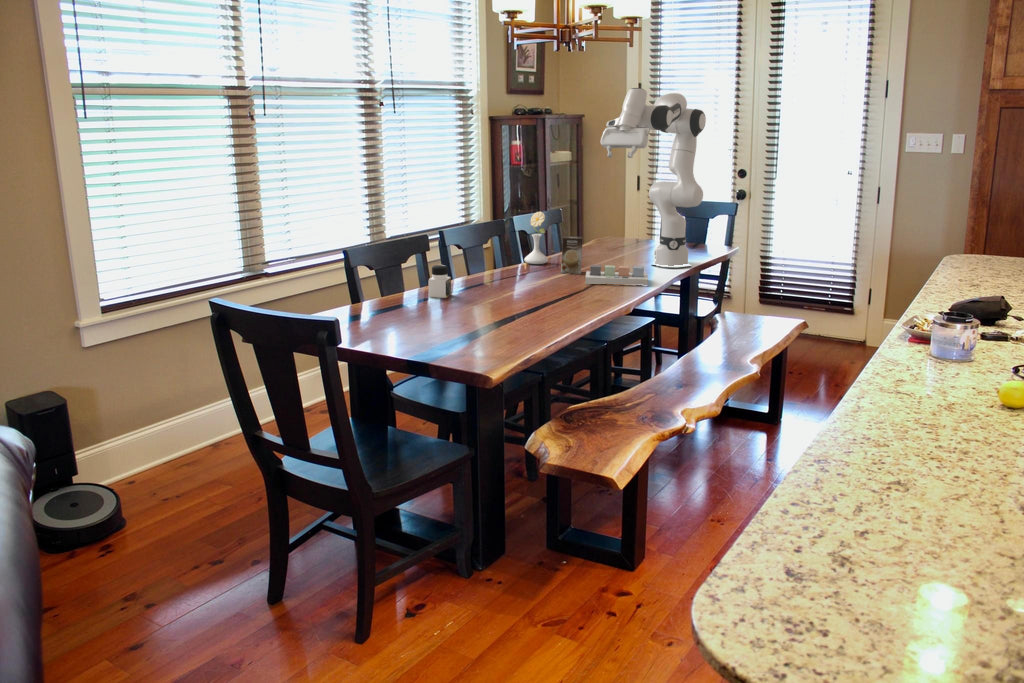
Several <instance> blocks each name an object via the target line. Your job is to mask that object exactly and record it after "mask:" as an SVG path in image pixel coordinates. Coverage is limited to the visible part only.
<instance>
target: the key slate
mask: <svg viewBox="0 0 1024 683" xmlns="http://www.w3.org/2000/svg"><path fill="white" fill-rule="evenodd" d="M644 271H645V268H644V266H640V265H639V266H635V265H633V266H632V273H633V277H643V275H644V273H645V272H644Z"/></svg>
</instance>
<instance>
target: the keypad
mask: <svg viewBox="0 0 1024 683" xmlns="http://www.w3.org/2000/svg"><path fill="white" fill-rule="evenodd" d="M604 272H605V271H601V276H593V275H590V270H586V272H585V280H584V281H585V283H584V284H585V285H590V284H606V283H607V284H643V285H648V286H649V278H648V273H647V272H644V275H643V277H633V272H629V277H628V276H618V274H619V271H615V276H604Z"/></svg>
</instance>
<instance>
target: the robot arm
mask: <svg viewBox="0 0 1024 683" xmlns="http://www.w3.org/2000/svg"><path fill="white" fill-rule="evenodd" d="M647 95H648V92H647V90H646V89H644V88H640V87H631V88H629V89H628V91H627V93H626V95H625V97H624V100H623V104H622V106H621V109H622V110H621V113H620V115H619V117H617V118H615V119H611V120H608V121H607V122H606V127H605V129H604V130H603V132H602V135H601V137H600V145H601V147H603V148H604V149H606V151H607V155H606V157H608V158H609V159H610V158H613V156H614V153H613V152H612V151H613V149H631V150H630V151H629V152H627V158H629V159H633V157H634V155H635V153H636V152H637V151H638V149H646V147H647V145H648V141H649V135H650V131H654V130H655V131H660V132H662V133H666V134H668V133H669V134H675V136H674V139H673V143H672V146H671V150H670V151H671V152H670V156H669V162H668V168H669V171H670V172H671V173H672V174H673V175H675V176H676V177H677V180H676V181H675V182H674V181H659V182H654V183H653V184H652V185H651V186H650V187H649V189H648V190H649V191H648V197H649V200H650V202H651V203H653V204H652V205H654V206H655V207H656V208H657V210H658V213H659V214H660V219H661V222H660V223H661V224H660V225H661V226H660V227H661V229H660V230H661V232H660V233H661V234H660V236H659V245H658V246H657V247H656V249H655V250H654V260H655V259H656V261H655V264H659V265H668V266H674V265H683V264H688V263H689V248H688V247H687V246H686V242H687V237H686V227H687V221H686V218H685V217H684V216H683V215H682V214H680V213H679V212H678V211H677V208H676V207H678V208H679V207H680V208H693V207H699V205H700V204H701V203H702V202H703V199H704V191H703V189H702V187H701V186H700V185H699V183H698V182H697V181H696V178H695V175H694V167H695V166H694V165H695V157H696V154H697V153H696V151H697V142H698V141H697V140H698V138H697V137H698V136H699V135H700V134H701V132H703V130H704V129H705V127H706V121H707V118H706V114H705V112H704V111H703V110H701V109H699V108H698V109H697V108H695V109H693V108H687V106H688V101H687V99H686V97H685V96H684V95H683V94H681V93H676V92H671V93H666V94H663V95H661V96H660V97H657V99H656V100H655V101H654V104H653V105H647V97H648V96H647Z"/></svg>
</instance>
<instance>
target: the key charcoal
mask: <svg viewBox="0 0 1024 683" xmlns="http://www.w3.org/2000/svg"><path fill="white" fill-rule="evenodd" d="M589 271H590V275H593V276H601V272H602V265H601V264H590V270H589Z"/></svg>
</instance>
